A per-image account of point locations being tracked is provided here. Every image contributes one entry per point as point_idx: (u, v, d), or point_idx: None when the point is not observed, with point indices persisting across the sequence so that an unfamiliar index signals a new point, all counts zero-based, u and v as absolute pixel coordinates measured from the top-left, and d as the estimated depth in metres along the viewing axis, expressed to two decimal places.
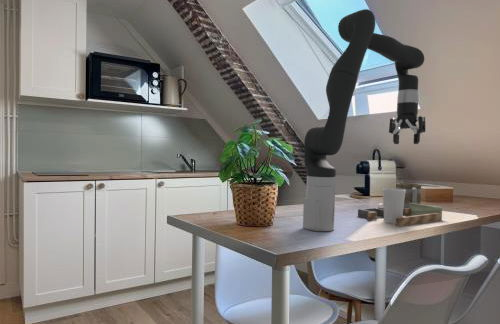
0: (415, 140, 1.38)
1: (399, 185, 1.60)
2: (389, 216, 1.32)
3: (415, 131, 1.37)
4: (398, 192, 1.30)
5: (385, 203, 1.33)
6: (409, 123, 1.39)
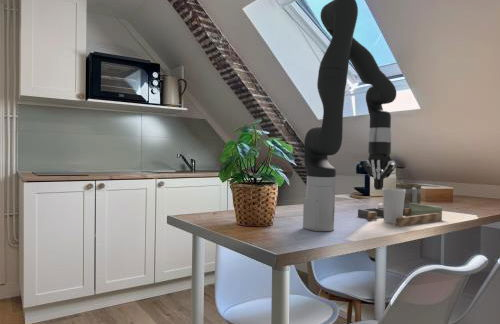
0: (378, 186, 1.28)
1: (399, 185, 1.60)
2: (389, 216, 1.32)
3: (378, 176, 1.28)
4: (398, 192, 1.30)
5: (385, 203, 1.33)
6: (379, 165, 1.27)
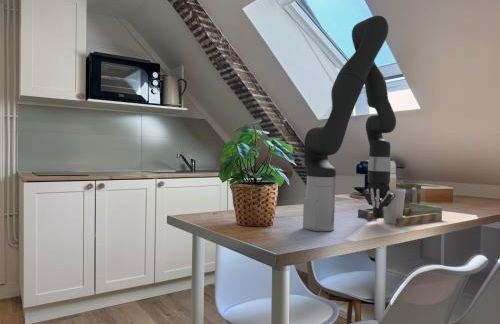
0: (377, 214, 1.29)
1: (399, 185, 1.60)
2: (389, 216, 1.32)
3: (377, 205, 1.28)
4: (398, 192, 1.30)
5: None
6: (378, 194, 1.28)
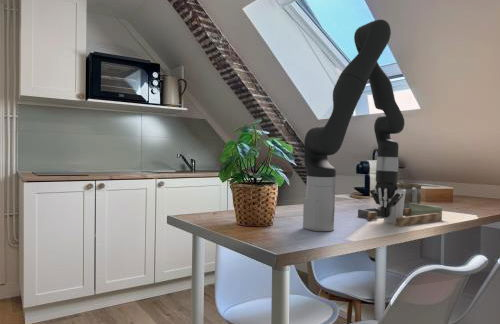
0: (385, 214, 1.31)
1: (399, 185, 1.60)
2: (389, 216, 1.32)
3: (385, 204, 1.31)
4: None
5: None
6: (385, 194, 1.30)
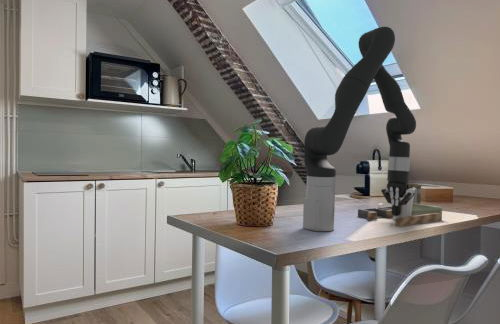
0: (396, 212, 1.34)
1: None
2: (400, 214, 1.36)
3: (396, 203, 1.34)
4: None
5: None
6: (397, 193, 1.33)
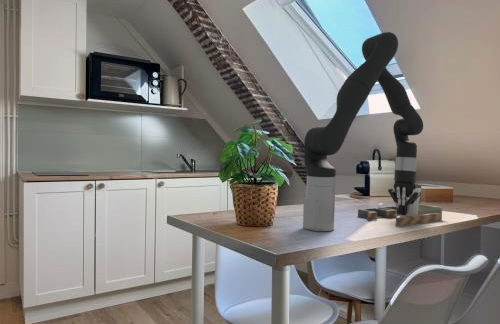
0: (402, 211, 1.37)
1: None
2: None
3: (403, 203, 1.36)
4: None
5: None
6: (404, 193, 1.36)
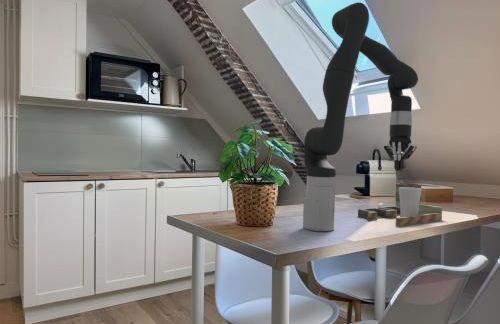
0: (398, 167, 1.35)
1: (399, 185, 1.60)
2: (407, 214, 1.38)
3: (398, 158, 1.34)
4: (416, 191, 1.37)
5: (403, 201, 1.39)
6: (399, 147, 1.33)
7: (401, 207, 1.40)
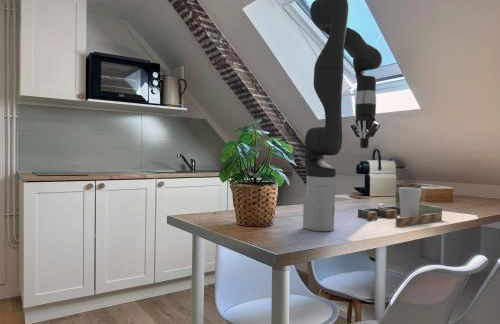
0: (364, 144, 1.40)
1: (399, 185, 1.60)
2: (407, 214, 1.38)
3: (364, 136, 1.39)
4: (416, 191, 1.37)
5: (403, 201, 1.39)
6: (364, 126, 1.39)
7: (401, 207, 1.40)
